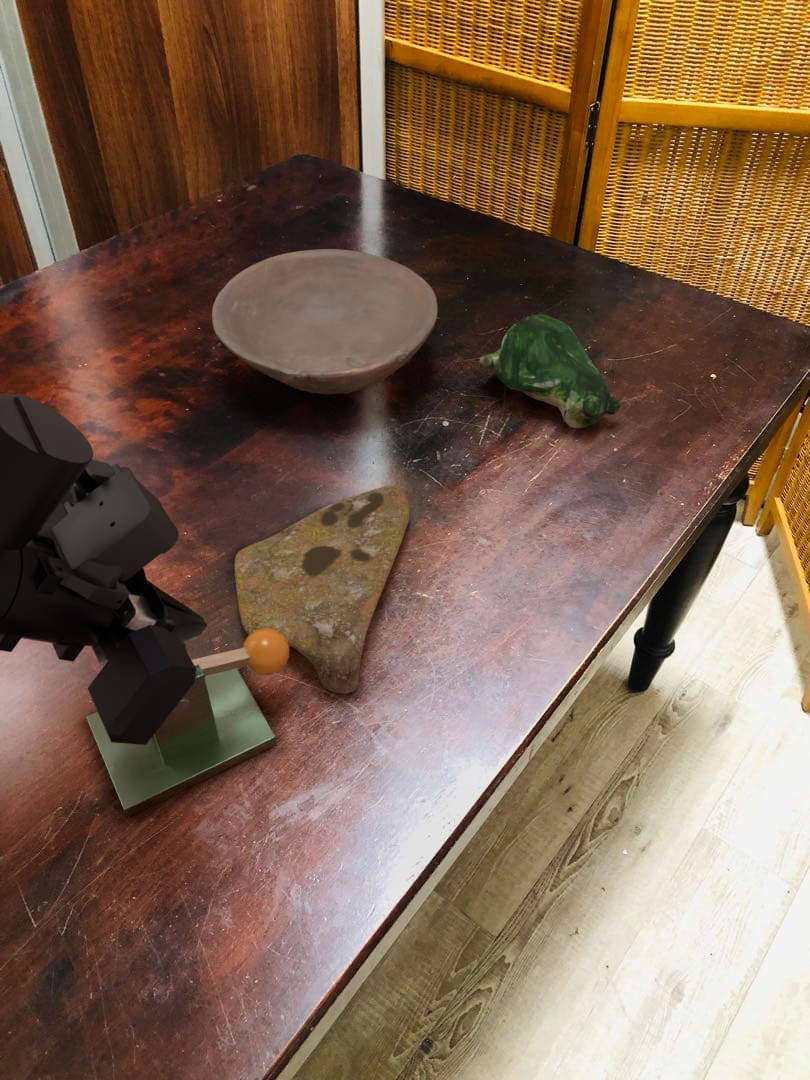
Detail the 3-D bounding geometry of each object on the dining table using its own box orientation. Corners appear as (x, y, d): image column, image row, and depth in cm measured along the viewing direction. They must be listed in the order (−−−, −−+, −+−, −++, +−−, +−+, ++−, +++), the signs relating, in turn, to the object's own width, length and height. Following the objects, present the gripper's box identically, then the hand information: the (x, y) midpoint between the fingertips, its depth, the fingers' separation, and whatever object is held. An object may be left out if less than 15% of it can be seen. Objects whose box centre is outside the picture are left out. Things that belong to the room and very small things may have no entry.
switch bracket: (230, 662, 74) (215, 586, 67) (276, 744, 69) (266, 672, 62) (89, 724, 69) (57, 650, 62) (127, 817, 64) (96, 749, 57)
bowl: (398, 296, 114) (399, 234, 107) (465, 413, 98) (471, 348, 91) (204, 324, 108) (194, 261, 102) (242, 454, 92) (233, 387, 86)
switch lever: (272, 646, 71) (280, 614, 69) (292, 678, 69) (301, 647, 67) (135, 679, 65) (140, 645, 62) (152, 716, 62) (157, 682, 60)
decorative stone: (360, 702, 71) (352, 659, 68) (189, 678, 75) (174, 636, 72) (431, 518, 89) (427, 478, 86) (292, 506, 93) (283, 467, 90)
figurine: (459, 369, 98) (548, 447, 91) (492, 297, 94) (588, 374, 86) (536, 369, 107) (623, 441, 100) (570, 304, 103) (663, 374, 95)
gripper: (128, 581, 42) (335, 632, 55) (20, 384, 53) (213, 463, 66) (9, 742, 45) (232, 757, 57) (-71, 523, 56) (131, 575, 68)
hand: (202, 626), depth 62 cm, fingers closed
